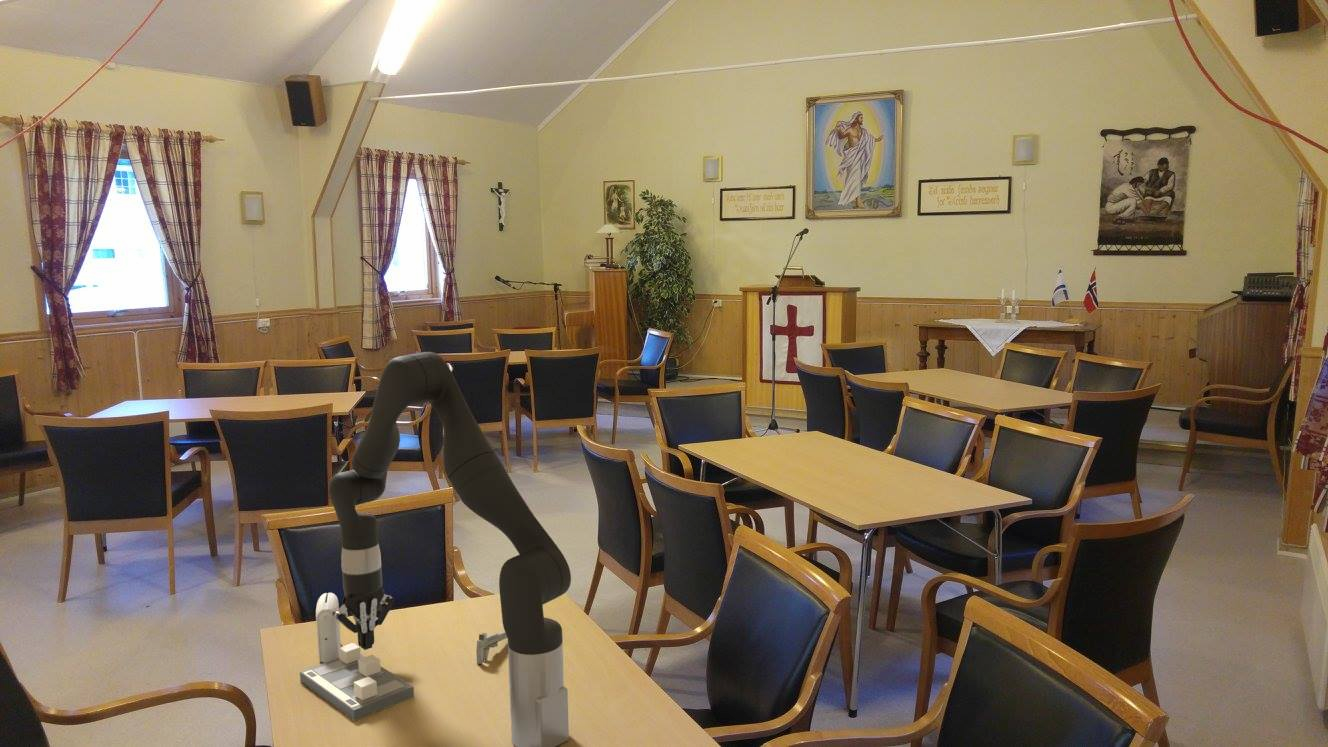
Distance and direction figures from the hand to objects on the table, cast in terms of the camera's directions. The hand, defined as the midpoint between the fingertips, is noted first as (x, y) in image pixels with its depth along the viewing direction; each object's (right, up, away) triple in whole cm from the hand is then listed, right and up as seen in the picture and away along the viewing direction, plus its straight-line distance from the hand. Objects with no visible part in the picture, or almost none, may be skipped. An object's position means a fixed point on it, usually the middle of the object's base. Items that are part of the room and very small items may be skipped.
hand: (366, 647), depth 183 cm
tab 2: (+6, -3, -17) cm, 18 cm away
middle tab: (+3, -2, -8) cm, 9 cm away
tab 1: (-2, -2, -3) cm, 4 cm away
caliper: (+26, -2, +9) cm, 28 cm away
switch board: (+1, -5, -10) cm, 11 cm away
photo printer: (-10, -3, +6) cm, 12 cm away
